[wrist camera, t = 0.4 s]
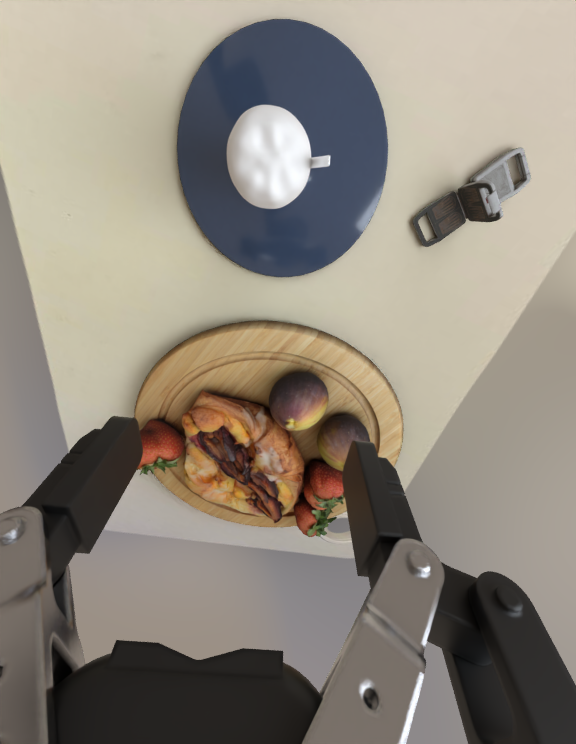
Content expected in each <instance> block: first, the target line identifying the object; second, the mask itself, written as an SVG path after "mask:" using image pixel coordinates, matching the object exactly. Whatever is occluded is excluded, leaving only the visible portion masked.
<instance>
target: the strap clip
mask: <svg viewBox="0 0 576 744" xmlns="http://www.w3.org/2000/svg"><path fill="white" fill-rule="evenodd" d="M514 155H515V158H516V161H517V165H518V169H519V172H520V176H521V180H520V181H519V182H518V183H517V184H516V185H513V181H512V178H511V175H510V171H509V168H508V164H507V161H506V160H507V159H509V158H511V157H512V156H514ZM530 179H531V175H530V171H529V167H528V164H527V160H526V156H525V152H524V149H523V148H516V149H512V150H510V151H508V152H506V153H504V154H502V155H500V156H499V157H497V158H496V159H495V160H494V161H492V162H491V163H490V164H488V165H487V166H486V167H484V168H483V169H482V170H481V171H479V172H478V173H477V174H475V175H474V176H473V177H472V178H471V179H470V184H466V185H463V186H462V187H461V188H459V189H458V192H456V193H455V192H449V193H448V194H446V195H444V196H443V197H441V198H440V199H438V200H436V201H435V202H433V203H432V204H430V205H428V206H427V207H425V208H424V209H423V210H422V211H420V212H419V213H418V214H417V215H416V216H415V218H414V219H413V225H414V227H415V229H416V231H417V234H418V236H419V238H420V240H421V242H422V245H423V246H425V247H428V246H431V245H433V244H435V243H437V242H439V241H441V240H442V239H443V238H445V237H446V236H448V235H449V234H450V233H452V232H453V231H455V230H456V229H457V228H459V227H460V226H462V225H463V224H464V223H465V221H466V219H467V218H468V219H469V220H470V221H479V222H492V221H497V220H499V219H500V218H501V217H502V216H503V211H502V208H501V205H500V203H501V202H503V201H505V200H506V199H508V198H510V197H512V196H513V195H515V194H517V193H518V192H519V191H520V190H521V189H522V188H524V187H525V186H526V185H527V184H528V183H529V181H530ZM426 213H427V215H428V218H429V220H430V222H431V225H432V227H433V229H434V232H435V234H436V236H437V237H435V238H433V239H431V240H430V241H428V242H426V240H425V238H424V235H423V233H422V231H421V229H420V226H419V224H418V220H419V219H420V218H421V217H422V216H423V215H425V214H426ZM495 213H496V214H495ZM465 218H466V219H465Z"/></svg>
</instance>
